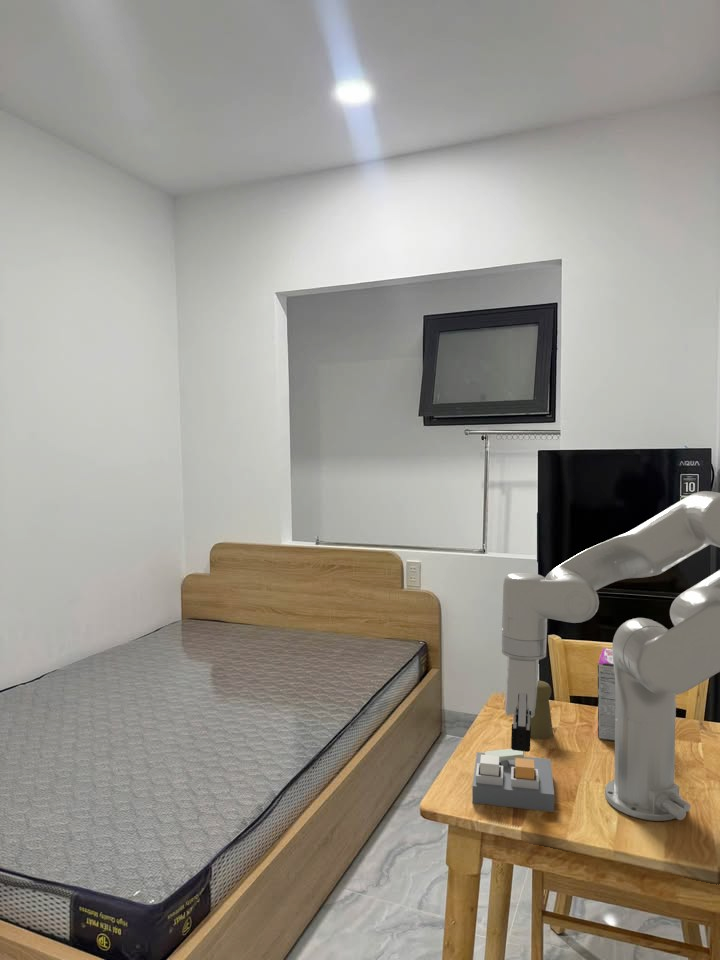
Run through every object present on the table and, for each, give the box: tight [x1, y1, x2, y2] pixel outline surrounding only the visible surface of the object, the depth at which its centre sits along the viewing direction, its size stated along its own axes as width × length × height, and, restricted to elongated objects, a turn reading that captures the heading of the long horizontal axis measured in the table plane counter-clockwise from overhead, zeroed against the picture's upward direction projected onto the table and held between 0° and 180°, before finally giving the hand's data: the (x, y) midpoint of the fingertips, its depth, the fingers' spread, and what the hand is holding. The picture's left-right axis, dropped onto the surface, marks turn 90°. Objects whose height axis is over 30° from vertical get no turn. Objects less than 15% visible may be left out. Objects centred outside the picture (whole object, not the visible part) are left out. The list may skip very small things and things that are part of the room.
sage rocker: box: [484, 748, 525, 761], centre depth 124 cm, size 7×3×1 cm, turn 77°
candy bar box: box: [597, 647, 616, 742], centre depth 144 cm, size 11×5×16 cm, turn 155°
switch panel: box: [471, 752, 555, 813], centre depth 121 cm, size 14×13×4 cm
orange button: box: [515, 758, 534, 779], centre depth 117 cm, size 3×3×2 cm
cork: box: [530, 680, 554, 740], centre depth 144 cm, size 6×6×11 cm
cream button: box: [480, 755, 499, 776], centre depth 119 cm, size 3×3×2 cm
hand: (520, 748), depth 117 cm, fingers closed
